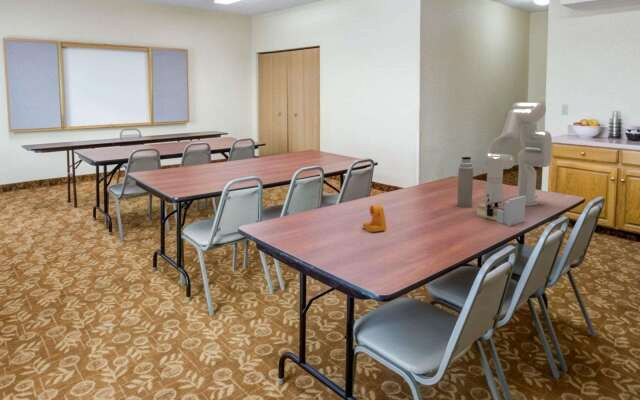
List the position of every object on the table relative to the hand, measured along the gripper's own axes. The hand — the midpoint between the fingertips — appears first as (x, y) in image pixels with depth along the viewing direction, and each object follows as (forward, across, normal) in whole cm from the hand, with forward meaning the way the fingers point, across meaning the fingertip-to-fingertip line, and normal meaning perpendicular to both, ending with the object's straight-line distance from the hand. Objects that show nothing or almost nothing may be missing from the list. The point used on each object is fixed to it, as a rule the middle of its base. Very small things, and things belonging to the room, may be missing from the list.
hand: (492, 214), depth 257 cm
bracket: (+2, +60, -25) cm, 65 cm away
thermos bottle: (+2, -13, -27) cm, 30 cm away
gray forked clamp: (+2, 0, +9) cm, 9 cm away
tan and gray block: (+2, 0, 0) cm, 2 cm away
